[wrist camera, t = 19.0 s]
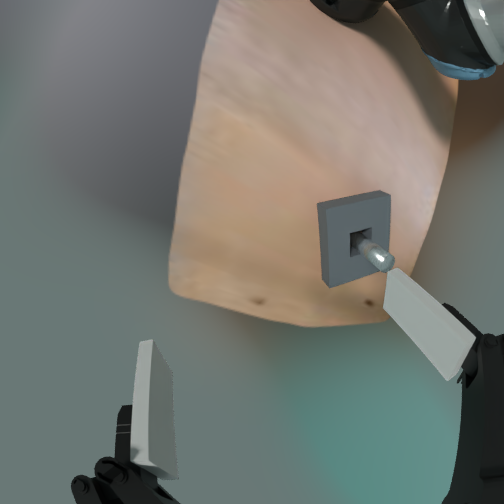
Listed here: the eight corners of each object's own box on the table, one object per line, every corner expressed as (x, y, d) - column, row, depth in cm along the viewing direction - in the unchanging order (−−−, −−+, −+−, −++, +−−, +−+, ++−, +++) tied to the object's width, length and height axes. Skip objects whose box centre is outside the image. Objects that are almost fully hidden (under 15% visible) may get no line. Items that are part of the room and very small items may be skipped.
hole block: (316, 203, 46) (325, 209, 43) (379, 190, 47) (390, 194, 44) (322, 279, 53) (329, 288, 50) (377, 260, 55) (386, 268, 52)
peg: (344, 229, 49) (380, 258, 39) (357, 226, 50) (395, 252, 39) (344, 244, 51) (379, 274, 40) (357, 240, 51) (393, 269, 41)
